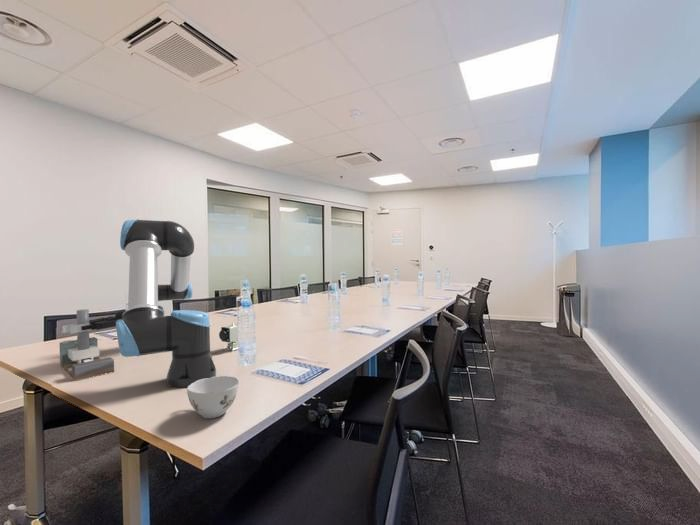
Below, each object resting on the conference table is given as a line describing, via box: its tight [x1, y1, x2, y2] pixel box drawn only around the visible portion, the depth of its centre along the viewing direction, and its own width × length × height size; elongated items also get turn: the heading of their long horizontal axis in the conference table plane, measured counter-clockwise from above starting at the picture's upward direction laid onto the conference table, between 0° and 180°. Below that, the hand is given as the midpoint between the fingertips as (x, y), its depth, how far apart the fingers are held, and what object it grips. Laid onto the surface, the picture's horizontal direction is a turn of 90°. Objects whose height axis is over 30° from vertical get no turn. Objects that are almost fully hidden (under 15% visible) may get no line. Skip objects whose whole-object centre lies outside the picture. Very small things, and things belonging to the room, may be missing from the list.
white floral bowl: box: [186, 375, 240, 419], centre depth 86 cm, size 15×12×8 cm
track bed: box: [59, 336, 115, 382], centre depth 123 cm, size 27×11×9 cm, turn 50°
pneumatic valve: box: [218, 322, 239, 352], centre depth 146 cm, size 6×12×12 cm, turn 150°
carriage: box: [68, 308, 100, 364], centre depth 125 cm, size 8×8×20 cm
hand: (66, 329), depth 120 cm, fingers closed on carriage, 4 cm apart
